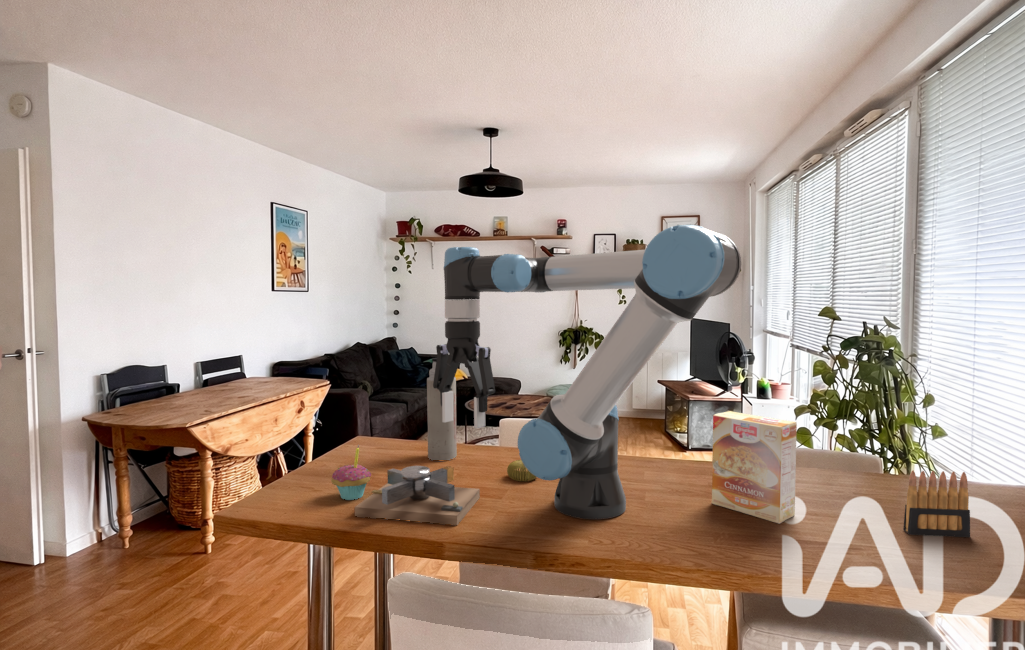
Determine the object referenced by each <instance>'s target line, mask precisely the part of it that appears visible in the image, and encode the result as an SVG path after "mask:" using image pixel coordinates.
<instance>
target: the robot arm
mask: <svg viewBox="0 0 1025 650" xmlns="http://www.w3.org/2000/svg"><path fill="white" fill-rule="evenodd" d="M443 260H444V261H443V263H444V264H443V275H444V276H443V277H444V318H445V319H447V321H445V322H444V336H445V338H446V339H447V342H446V343H445V344H437V345H436V347H435V349H436V358H437V360H436V368H435V375H434V382H433V387H434V388H437V389H438V390H439V391H440V399H441V406H442V422H444V423H445V422H449V421H453V391H450V390H452V388H451V386H452V383H453V380H454V377H455V378H456V374H457V372H458V368H459V366H460V365H462V364H463V365H464V367H465V368H466V369H467V371H468V374H469V377H470V379H471V383H472V385H473V387H474V390H475V393H476V395H475V396H474V397H473V418H474V419H473V424H474V426H473V428H474V429H480V428H484V427H486V413H487V411H488V397H489V396H490V395H494V394H495V393H496V386H495V381H494V375H493V371H492V363H491V351H492V349H491V347H489V346H487V347H484V346H480V343H479V338H480V337H481V323H480V321H479V320H478V319H480V317H481V316H480V315H481V313H480V309H481V308H480V307H481V305H480V301H481V300H480V297H481V296H480V295H481V293H487V292H488V293H493V292H494V293H508V294H509V293H526V292H527V293H546V292H547V293H548V292H566V291H567V292H569V291H571V292H572V291H594V290H595V291H597V290H598V291H599V290H600V291H601V290H628V289H629V290H630V289H631V290H635V294H634V296H633V297H632V299H631V300H630V301H629V303H628V304H627V306H626V307H625V308H624V310H623V311H622V313H621V314H620V315H619V317H618V318H617V320H616V321H615V322H614V324H613V326H612V327H611V328H610V329H609V331H608V333H607V334H606V335H605V337H604V338H603V339H602V341H601V343H600V344H599V346H598V347H597V348H596V349H595V351H594V352H593V354H592V355H591V357H590V358H589V359H588V361H587V363H586V364H585V365H584V367H583V368H582V369H581V371H580V372H579V373H578V374H577V377H576V378H575V379H574V381H573V382H572V383H571V385H570V386H569V388H568V389H567V390H566V392H565V393H564V394H557V395H553V397H552V398H551V400H550V401H549V402H548V404H547V405H546V406H545V408H544V409H543V410H542V412H541V413H540V415H539V416H538V417H537V418H532V419H531V420H529V421H528V422H527V423H525V424H524V425H523V426H522V427H521V428H520V429H519V430H520V431H519V433H518V436H517V449H518V452H519V457H520V460H522V462H523V464H524V465H525V467H526V468H527V469H528V470H529V471H530V472H531V473H532V474H533V475H534V476H536V478H537V479H540V480H542V481H555V480H558V482H557V485H556V486H557V487H556V488H555V493H554V497H553V499H554V501H553V503H554V505H553V506H554V508H555V510H557V511H558V512H559V513H561V514H562V515H565V516H569V517H572V518H577V519H582V520H583V519H585V520H605V519H610V518H615V517H618V516H620V515H622V514H624V513H625V511H626V509H627V497H626V494H625V491H624V488H623V485H622V481H621V478H620V474H619V472H618V469H619V467H618V466H619V465H618V463H619V462H618V459H619V458H618V457H619V454H618V453H619V451H618V450H619V444H618V443H619V421H620V420H619V418H620V417H619V413H618V410H619V409H618V407H617V403H619V401H620V400H621V398H622V397H623V395H624V394H625V393H626V391H627V390H628V389H629V388H630V386H631V385H632V383H634V381H635V380H636V379H637V377H638V376H639V375H640V373H641V372H642V370H643V369H644V368H645V367H646V365H647V364H648V363H649V361H650V360H651V359H652V358H653V356H654V355H655V354H656V352H657V351H658V350H659V348H660V347H661V346H662V344H663V343H664V341H665V340H666V339H667V338H668V336H669V335H670V334H671V332H672V331H673V330H674V328H675V327H676V326H677V324H679V323H683V322H689V321H692V320H693V319H694V318H695V316H696V315H697V313H698V312H699V311H700V310H701V308H702V306H704V304H705V303H706V302H707V301H708V299H709V298H710V297H711V298H712V297H715V296H719V295H721V294H723V293H725V292H727V291H728V290H729V289H730V288H731V287H732V286H733V285H734V284H735V283H736V281H737V280H738V278H739V275H740V273H741V267H742V255H741V253H740V251H739V248H738V247H737V245H736V244H735V242H734V241H733V240H732V239H731V238H730V237H728V236H727V235H725V234H723V233H721V232H718V231H713V230H710V229H707V228H705V227H704V226H702V225H697V224H678V225H673V226H670V227H667V228H665V229H663V230H661V231H660V232H658V233H657V234H656V235H655V236H654V237H653V238H652V239H651V240H650V241H649V242H648V244H647V246H646V248H645V249H637V250H625V251H624V250H623V251H611V252H610V251H609V252H598V253H587V254H586V253H583V254H571V255H557V256H543V257H525V256H524V255H522V254H515V253H514V254H513V253H504V254H495V255H480V249H478V248H477V247H473V246H472V247H471V246H461V247H460V246H459V247H458V246H452V247H448V248H447V249H446V250H445V251H444V259H443Z"/></svg>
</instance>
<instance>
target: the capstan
mask: <svg viewBox="0 0 1025 650" xmlns="http://www.w3.org/2000/svg"><path fill="white" fill-rule="evenodd" d="M454 471H455V470H454V466H451V465H450V466H449V465H446V466H444V467H441V468H438V469H435V470H432V471H431V470H430V467H428V466H425V465H411V466H406V467H404V468H402V469H401V470H400V469H397V468H391V469H387V483H388V484H391V486H388V487H385V488H382V503H383V504H386V505H388V504H391V503H394V502H396V501H399V500H402V499H405V498H407V497H410V498H412V499H425V498H428V497H429V496H431V497H435V498H438V499H442V500H445V501H448V502H450V501H452V500H455V487H456V486H455V484H451V482H454V481H455V476H454Z"/></svg>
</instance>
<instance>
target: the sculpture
mask: <svg viewBox="0 0 1025 650" xmlns="http://www.w3.org/2000/svg"><path fill="white" fill-rule="evenodd" d="M506 472H507V475H508V477H509V478H510V479H511V480H513V481H516V482H531V481H533V480H535V479H537V477H536V476H534V475H533V474H532V473H531V472H530V471H529V470H528V469H527V468H526V467H525V465H524V464H523V462H522V460H521V459H518V460H517V459H516V460H514V461H512V462H510V463H509V464H508V466H507V469H506Z"/></svg>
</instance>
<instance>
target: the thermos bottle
mask: <svg viewBox="0 0 1025 650" xmlns="http://www.w3.org/2000/svg"><path fill="white" fill-rule="evenodd" d="M436 360H437V357H432V358H431V361H432V368H430V369H429V373H428V375H429V377H427V378H426V390H427V391H426V399H427V400H426V401H427V402H426V405H427V408H426V411H427V458H429V459H428V460H430V459H431V460H430V461H433V460H449V461H451V460H450V459H453V458H455V457H456V456H457V451H458V450H457V446H458V445H457V443H458V441H457V378H456V376H455V377H454V380H453V383H452V386H451V388H452V390H450V391H453V421H449V422H445V423H444V422H442V406H441V399H440V391H439V390H438V389H437V388H434V387H433V382H434V375H435V368H436ZM456 458H457V457H456ZM456 458H455V459H456ZM453 460H454V459H453Z"/></svg>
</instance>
